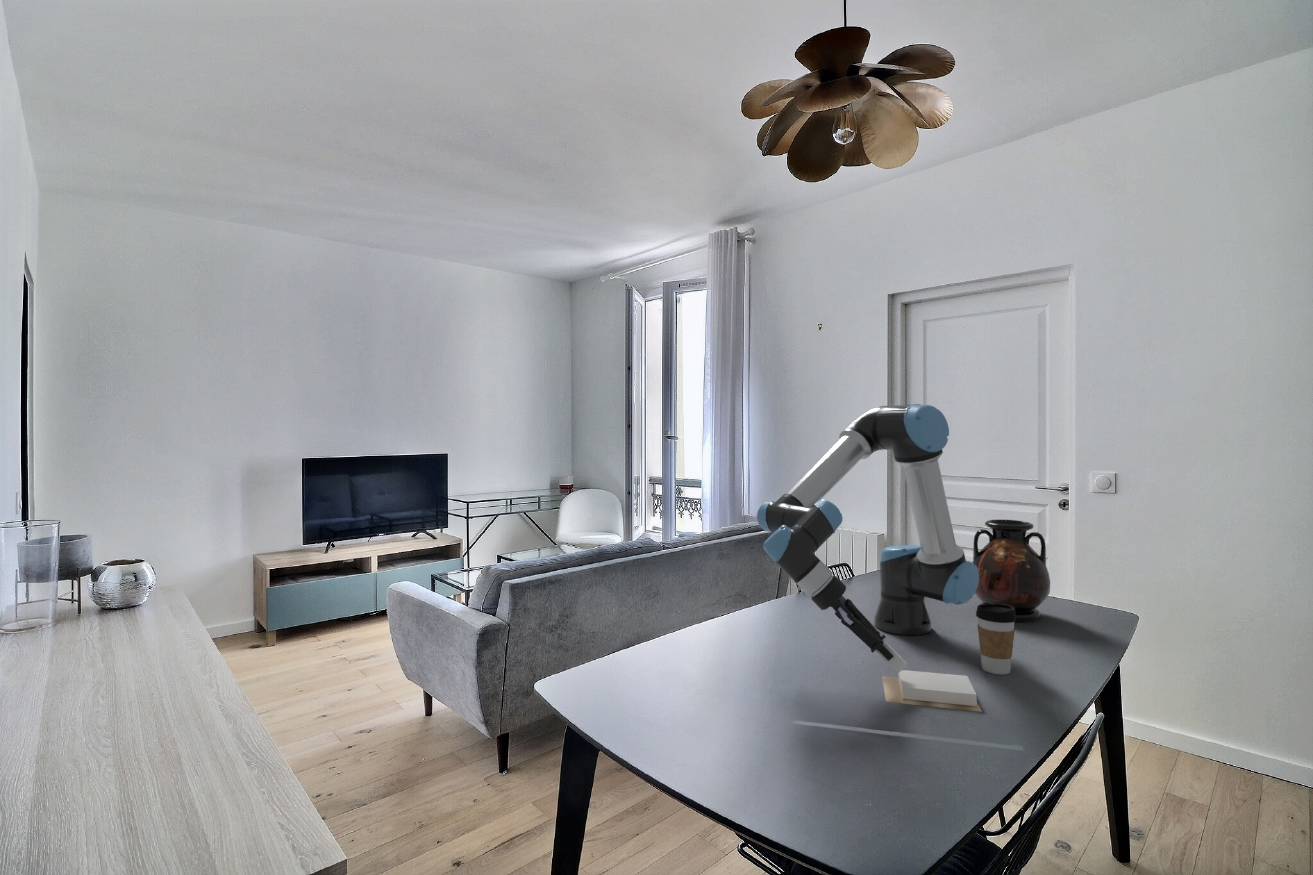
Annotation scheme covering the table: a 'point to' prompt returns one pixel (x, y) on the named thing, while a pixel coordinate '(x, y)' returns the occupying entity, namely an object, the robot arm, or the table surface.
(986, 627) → the coffee cup
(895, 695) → the mat
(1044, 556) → the amphora vase
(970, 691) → the tile
